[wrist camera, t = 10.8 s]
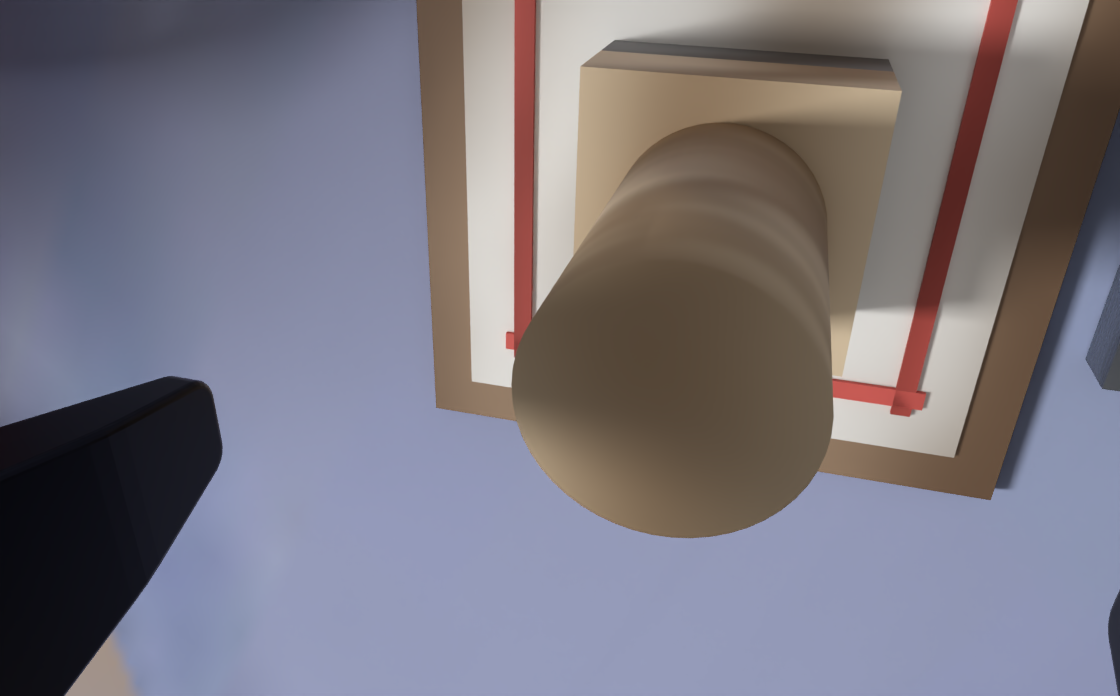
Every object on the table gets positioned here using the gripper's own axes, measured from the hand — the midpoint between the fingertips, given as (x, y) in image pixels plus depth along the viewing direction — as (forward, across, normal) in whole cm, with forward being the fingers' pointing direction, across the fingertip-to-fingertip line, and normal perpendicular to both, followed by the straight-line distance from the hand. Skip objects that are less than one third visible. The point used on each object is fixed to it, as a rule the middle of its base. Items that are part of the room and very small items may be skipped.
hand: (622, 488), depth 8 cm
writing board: (+11, 0, 0) cm, 11 cm away
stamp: (+10, 0, 0) cm, 10 cm away
